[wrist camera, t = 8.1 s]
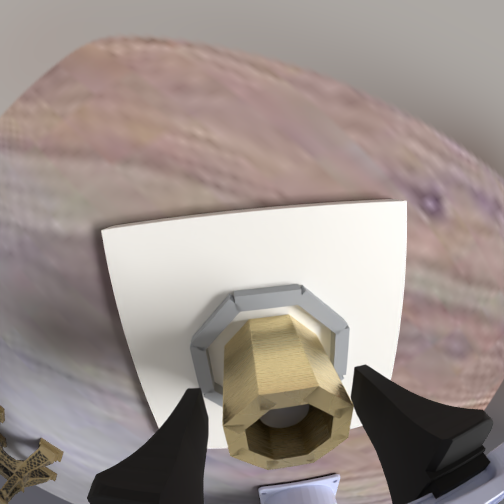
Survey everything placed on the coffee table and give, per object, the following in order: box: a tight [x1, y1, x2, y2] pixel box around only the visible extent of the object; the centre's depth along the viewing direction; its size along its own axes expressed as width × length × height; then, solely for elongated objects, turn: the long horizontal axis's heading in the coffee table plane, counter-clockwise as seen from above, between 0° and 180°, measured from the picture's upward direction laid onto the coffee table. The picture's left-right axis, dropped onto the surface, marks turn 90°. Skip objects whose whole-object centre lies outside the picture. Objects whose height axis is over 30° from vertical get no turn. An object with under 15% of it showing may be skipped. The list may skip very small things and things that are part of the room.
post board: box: [101, 199, 407, 449], centre depth 14 cm, size 16×16×6 cm
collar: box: [222, 314, 354, 470], centre depth 13 cm, size 5×5×6 cm
